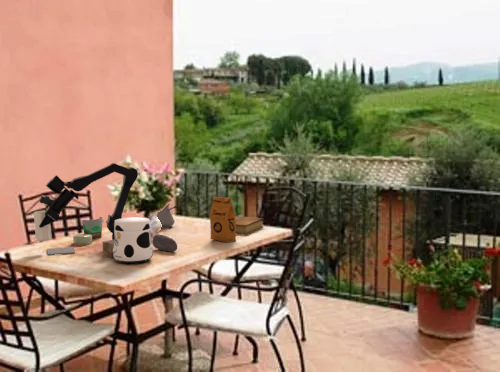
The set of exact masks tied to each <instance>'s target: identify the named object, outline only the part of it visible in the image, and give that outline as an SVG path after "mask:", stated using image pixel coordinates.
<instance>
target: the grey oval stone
mask: <svg viewBox="0 0 500 372" xmlns="http://www.w3.org/2000/svg"><path fill="white" fill-rule="evenodd" d="M152 245H153V248H155V249H158V250H159V251H165V252H169V253H171V252H172V253H173V252H176V251H177V249H178V244H177V242H176V240H175V239H173V238H171V237H169V236H167V235H164V234H155V235H153V237H152Z"/></svg>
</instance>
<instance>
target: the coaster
mask: <svg viewBox="0 0 500 372" xmlns="http://www.w3.org/2000/svg"><path fill="white" fill-rule="evenodd" d="M46 251H47V256H56V255H55V254H62V255H73V254H74V253H75V254H76V250H75V247H74V246H68V247H67V246H66V247H53V248H47V250H46Z"/></svg>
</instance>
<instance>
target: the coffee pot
mask: <svg viewBox="0 0 500 372" xmlns="http://www.w3.org/2000/svg"><path fill="white" fill-rule="evenodd" d="M169 206H170V203H168V205H167V206H166V207H165V208H164V209H163V210H162V211H160V212H158V211H157V214H156V216H157V217H158V219H159V220H160V222H161V224H162V227H163V228H162V229H168V228H171V227H172V226H174V224H175V219H174V217H173V214H172V211H171V210H173V209H176V208H179V207H181V206H185V207H186V206H187V203H186V202H185V201H184V202H182V203H179V204H175V205H174V206H173V207H170V208H169Z"/></svg>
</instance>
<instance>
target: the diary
mask: <svg viewBox="0 0 500 372" xmlns="http://www.w3.org/2000/svg"><path fill="white" fill-rule="evenodd" d="M263 221H264V218H263V217H253V216H243V215H242V216H239V215H235V222H236V235H245V234H246V235H248V234H251V233H253V232H255V230H256V231H258V230H260V229H263V228H264V225H263Z"/></svg>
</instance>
